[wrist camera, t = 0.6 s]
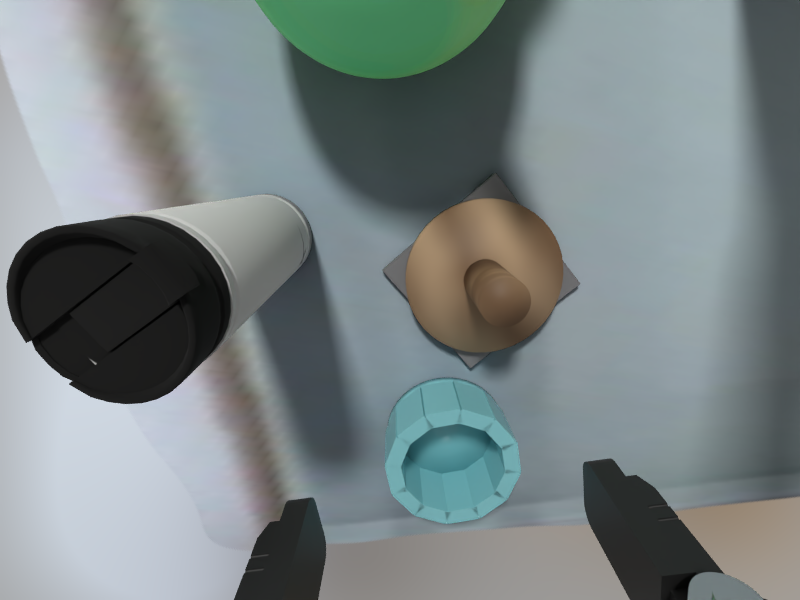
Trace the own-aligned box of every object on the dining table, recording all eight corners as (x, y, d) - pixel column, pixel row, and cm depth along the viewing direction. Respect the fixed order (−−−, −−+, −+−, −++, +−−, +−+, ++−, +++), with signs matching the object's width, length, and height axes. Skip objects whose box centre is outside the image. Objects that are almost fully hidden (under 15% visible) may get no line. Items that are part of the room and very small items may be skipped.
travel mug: (332, 244, 32) (244, 346, 13) (265, 291, 33) (91, 451, 14) (281, 173, 30) (92, 171, 11) (212, 225, 31) (-69, 303, 12)
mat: (494, 173, 31) (496, 173, 30) (577, 281, 33) (580, 283, 33) (382, 269, 33) (382, 270, 32) (469, 365, 35) (470, 368, 35)
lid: (497, 162, 30) (527, 159, 23) (589, 284, 33) (638, 311, 26) (373, 270, 32) (369, 294, 25) (469, 375, 35) (487, 422, 28)
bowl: (453, 354, 35) (464, 384, 30) (525, 433, 37) (545, 473, 32) (363, 425, 37) (359, 464, 32) (437, 496, 39) (443, 543, 34)
